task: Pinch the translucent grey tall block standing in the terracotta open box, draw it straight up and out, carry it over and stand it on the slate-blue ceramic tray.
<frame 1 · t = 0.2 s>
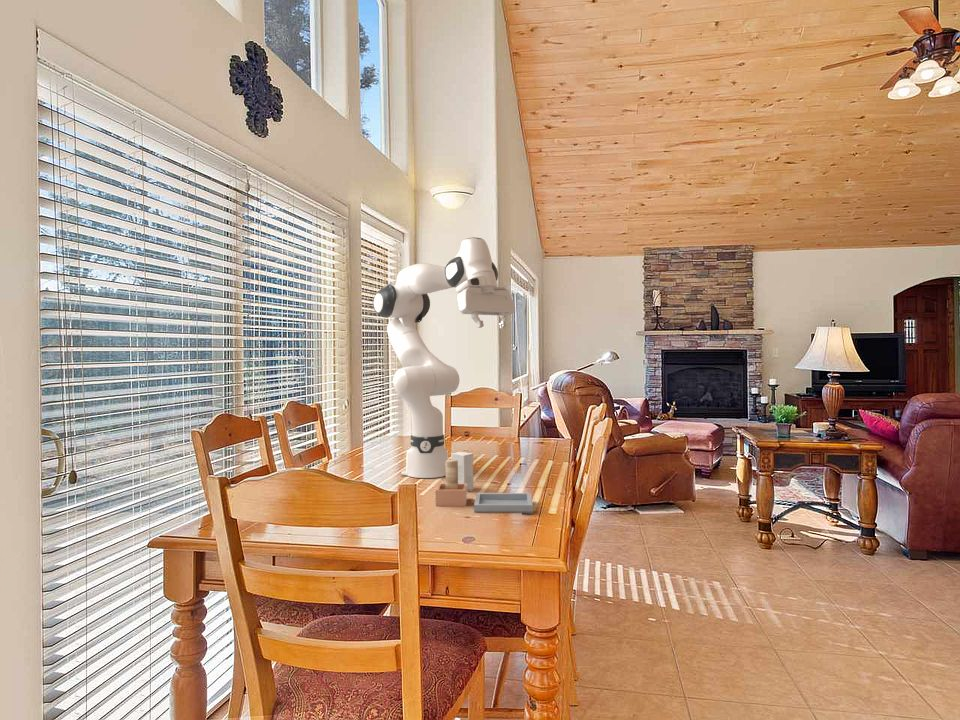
hand: (492, 327, 194), 52 cm above the table, tool tilted 20°, fingers open, 8 cm apart
skincare box: (462, 491, 200), on the table
translucent grey tall block: (451, 502, 184), resting on terracotta open box
slate tray: (503, 507, 179), on the table
terracotta open box: (451, 503, 184), on the table
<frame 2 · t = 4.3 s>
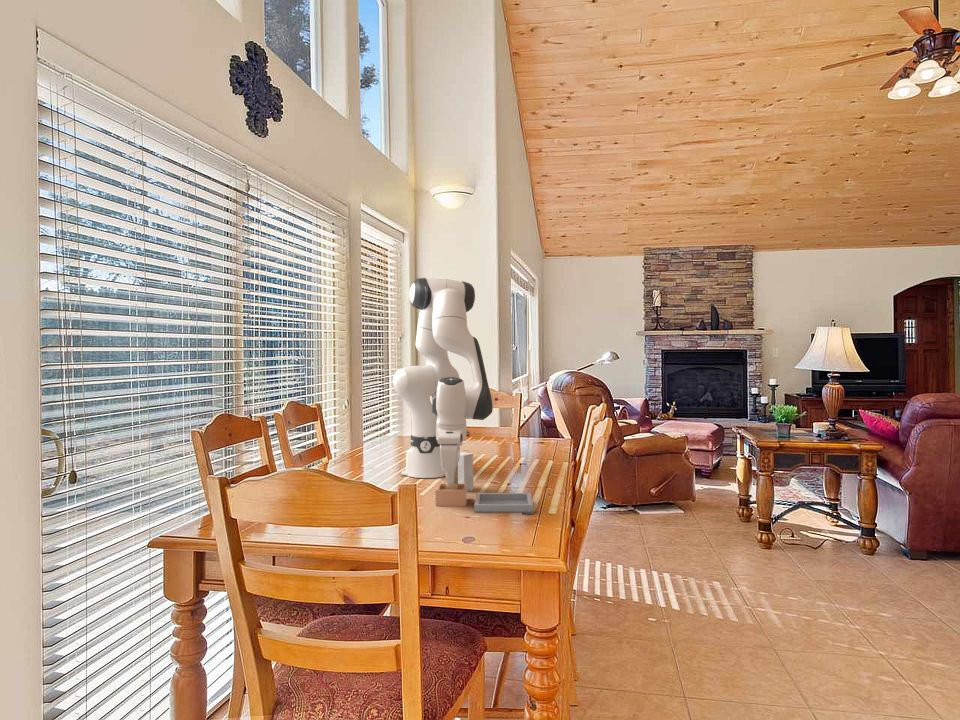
hand: (451, 481, 183), 7 cm above the table, tool pointing down, fingers closed on translucent grey tall block, 4 cm apart
translucent grey tall block: (451, 502, 184), point 1 cm above the table, touching gripper, terracotta open box
everything else where it was.
when the fingers open (8 cm above the table, at t = 10.5 s): translucent grey tall block stays where it is, resting on slate tray.
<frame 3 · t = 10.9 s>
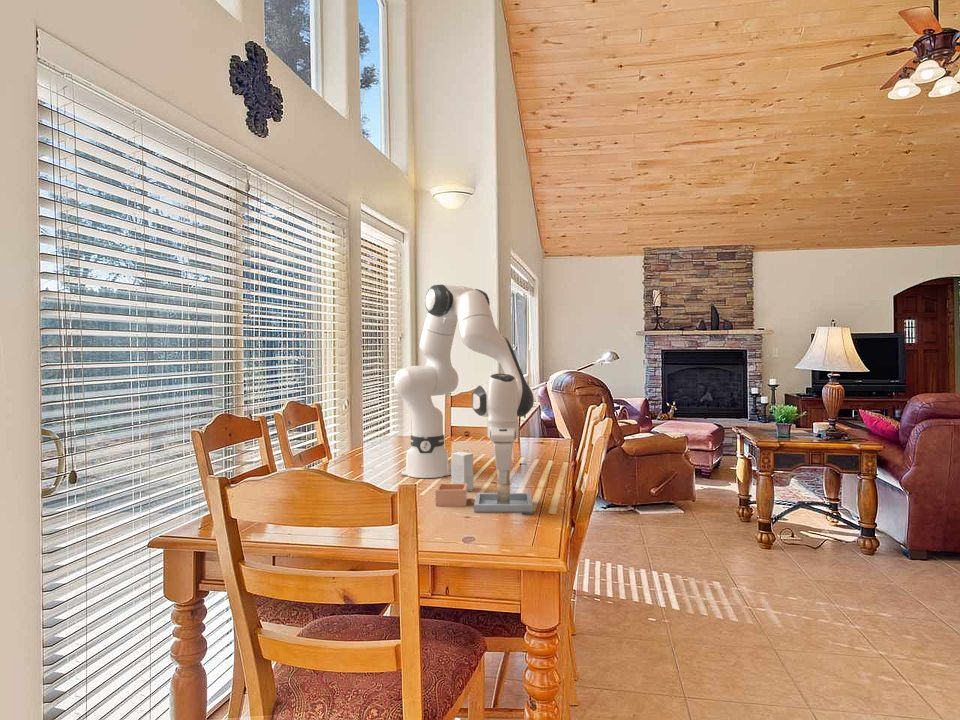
hand: (503, 480, 179), 8 cm above the table, tool pointing down, fingers open, 7 cm apart
translucent grey tall block: (503, 504, 179), point 1 cm above the table, touching slate tray
everything else where it was.
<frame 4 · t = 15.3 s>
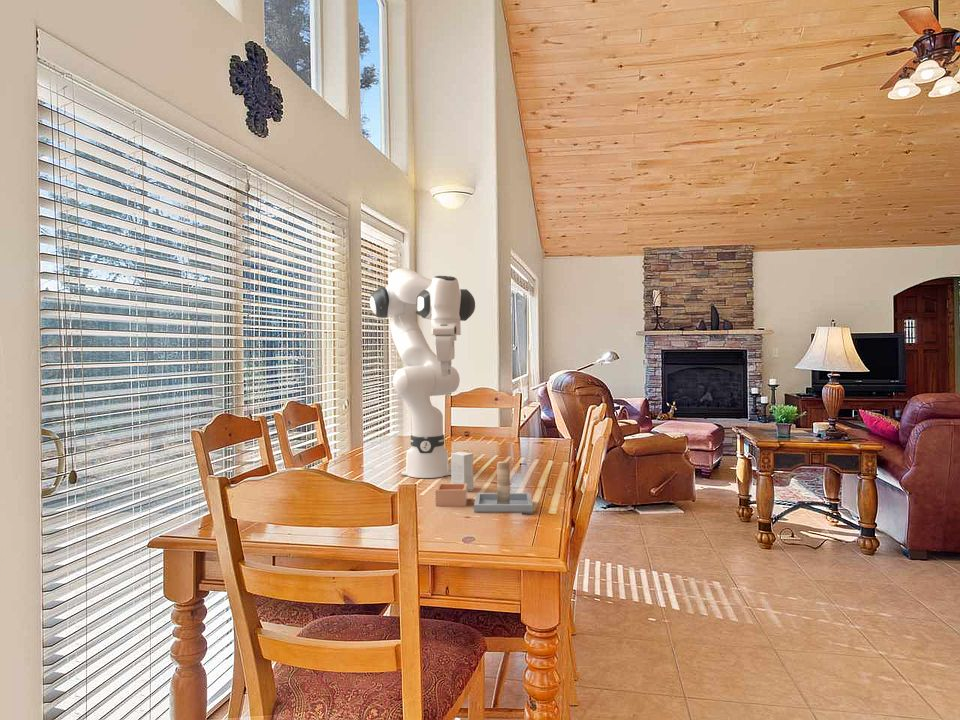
hand: (446, 375, 190), 37 cm above the table, tool pointing down, fingers open, 8 cm apart
nothing on the table moved.
at the end: translucent grey tall block inside the target area on the slate tray (0.1 cm from its centre), point 0.8 cm above the slate tray's base; translucent grey tall block tilted 0°; the gripper is holding nothing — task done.
